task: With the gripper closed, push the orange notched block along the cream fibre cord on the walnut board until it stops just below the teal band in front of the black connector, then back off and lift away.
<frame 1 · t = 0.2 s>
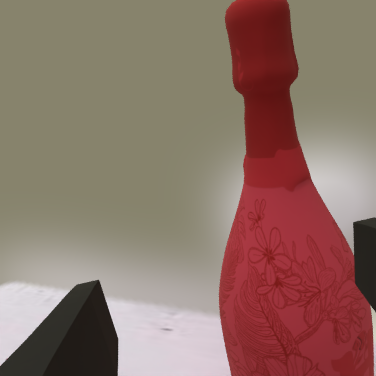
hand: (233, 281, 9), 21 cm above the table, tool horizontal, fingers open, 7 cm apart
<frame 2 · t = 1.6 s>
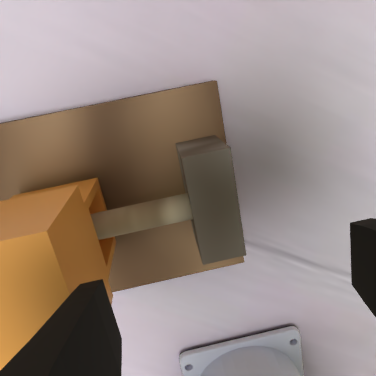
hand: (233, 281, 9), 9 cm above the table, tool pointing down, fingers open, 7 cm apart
orange notched block: (44, 257, 13), point 5 cm above the table, slide at 0.0 cm
cord rig: (8, 221, 18), on the table
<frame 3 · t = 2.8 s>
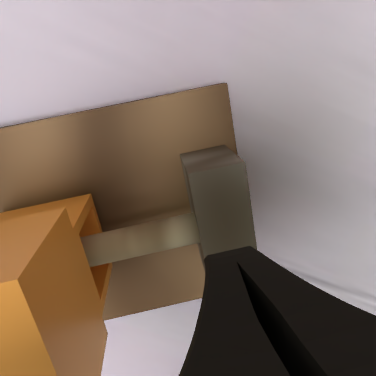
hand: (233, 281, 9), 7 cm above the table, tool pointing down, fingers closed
orange notched block: (26, 292, 11), point 5 cm above the table, slide at 0.0 cm
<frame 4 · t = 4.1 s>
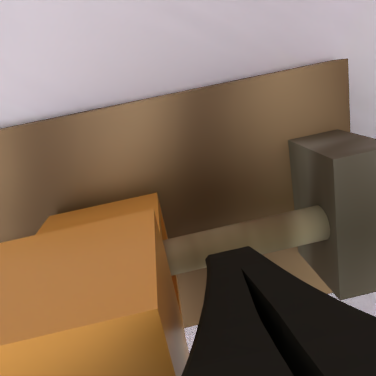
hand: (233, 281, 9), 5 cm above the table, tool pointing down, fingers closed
orange notched block: (103, 310, 9), point 5 cm above the table, slide at 1.3 cm, touching gripper
cord rig: (68, 239, 14), on the table
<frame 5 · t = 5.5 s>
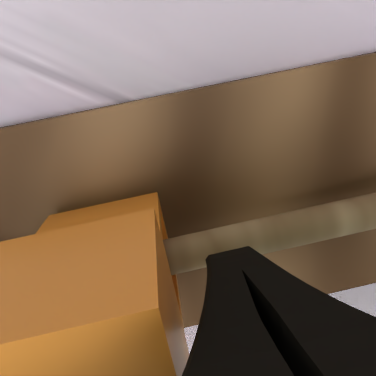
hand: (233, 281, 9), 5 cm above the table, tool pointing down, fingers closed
orange notched block: (102, 309, 9), point 5 cm above the table, slide at 7.0 cm, touching gripper
cord rig: (198, 210, 14), on the table
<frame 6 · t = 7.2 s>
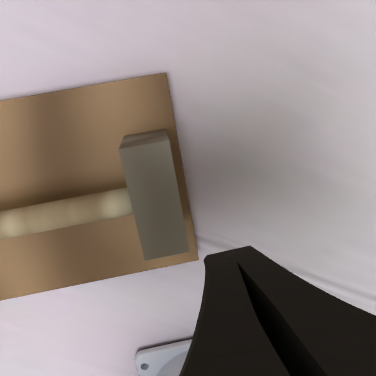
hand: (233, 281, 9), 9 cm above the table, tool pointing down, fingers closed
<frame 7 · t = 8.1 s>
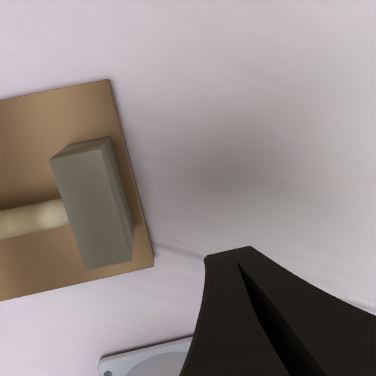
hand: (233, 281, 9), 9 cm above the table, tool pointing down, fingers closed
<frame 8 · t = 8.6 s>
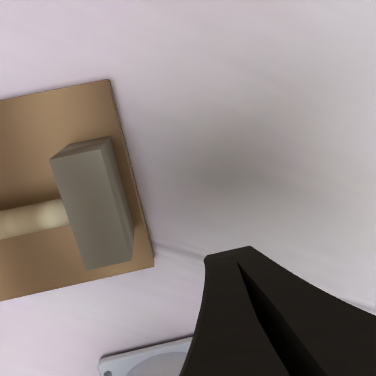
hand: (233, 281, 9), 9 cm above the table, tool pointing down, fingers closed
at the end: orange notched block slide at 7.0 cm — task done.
